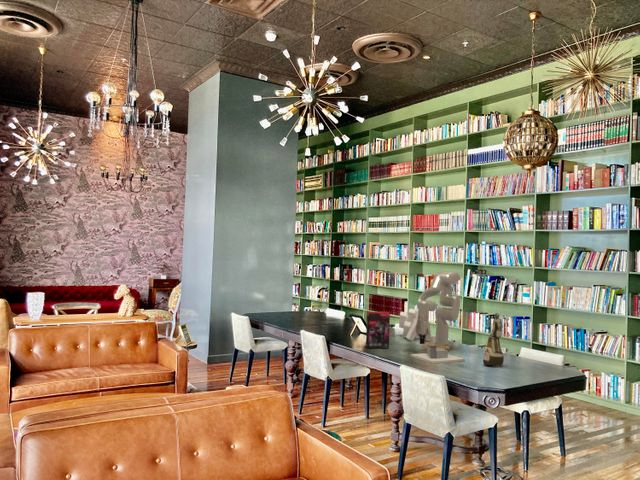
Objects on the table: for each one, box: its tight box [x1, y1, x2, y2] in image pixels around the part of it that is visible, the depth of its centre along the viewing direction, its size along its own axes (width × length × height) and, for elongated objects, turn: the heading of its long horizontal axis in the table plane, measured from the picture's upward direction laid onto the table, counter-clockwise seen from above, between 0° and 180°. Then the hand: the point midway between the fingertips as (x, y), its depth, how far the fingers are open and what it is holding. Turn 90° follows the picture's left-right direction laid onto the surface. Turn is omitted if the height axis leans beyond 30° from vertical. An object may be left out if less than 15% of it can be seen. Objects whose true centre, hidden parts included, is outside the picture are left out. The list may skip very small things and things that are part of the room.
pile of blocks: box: [398, 308, 433, 342], centre depth 429 cm, size 35×30×35 cm
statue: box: [482, 312, 505, 367], centre depth 336 cm, size 16×11×35 cm, turn 118°
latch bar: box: [422, 342, 450, 349], centre depth 356 cm, size 18×3×3 cm, turn 67°
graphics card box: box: [365, 311, 391, 349], centre depth 381 cm, size 17×7×27 cm, turn 101°
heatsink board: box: [410, 345, 466, 365], centre depth 350 cm, size 28×24×10 cm
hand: (422, 343), depth 365 cm, fingers closed
